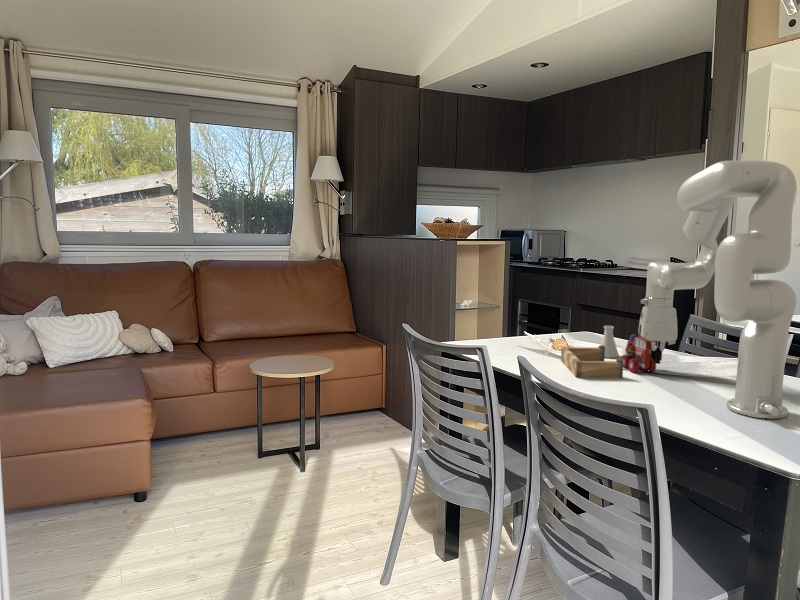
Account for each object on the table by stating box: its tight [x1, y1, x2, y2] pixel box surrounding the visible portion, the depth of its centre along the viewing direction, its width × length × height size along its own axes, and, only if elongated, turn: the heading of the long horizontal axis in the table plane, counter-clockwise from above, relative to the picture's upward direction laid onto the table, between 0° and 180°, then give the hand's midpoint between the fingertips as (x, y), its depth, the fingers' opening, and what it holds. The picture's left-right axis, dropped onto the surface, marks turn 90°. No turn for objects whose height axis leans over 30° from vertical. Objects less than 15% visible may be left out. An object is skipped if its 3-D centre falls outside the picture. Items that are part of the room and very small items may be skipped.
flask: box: [600, 325, 620, 359], centre depth 194 cm, size 7×7×10 cm
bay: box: [560, 345, 624, 379], centre depth 178 cm, size 19×13×5 cm
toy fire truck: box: [620, 333, 657, 373], centre depth 177 cm, size 7×12×10 cm, turn 5°
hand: (655, 362), depth 177 cm, fingers closed
